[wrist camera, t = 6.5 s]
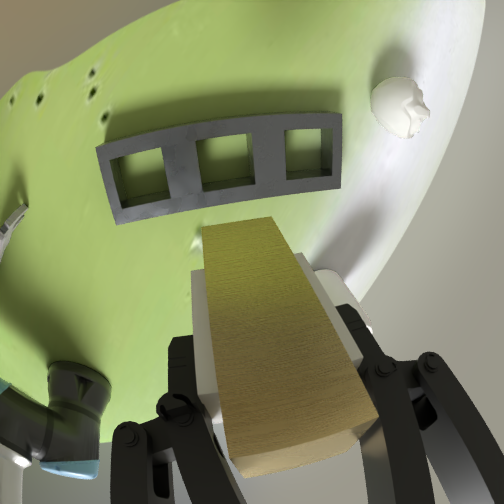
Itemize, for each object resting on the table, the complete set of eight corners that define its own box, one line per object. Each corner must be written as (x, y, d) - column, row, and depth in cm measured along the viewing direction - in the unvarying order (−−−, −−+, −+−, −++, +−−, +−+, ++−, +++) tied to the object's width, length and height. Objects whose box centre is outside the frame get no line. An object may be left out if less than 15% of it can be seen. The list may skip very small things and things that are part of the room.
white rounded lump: (399, 135, 31) (438, 148, 25) (356, 128, 30) (394, 140, 23) (403, 82, 27) (444, 86, 21) (359, 69, 26) (399, 68, 19)
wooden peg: (273, 272, 18) (346, 451, 8) (211, 282, 17) (244, 478, 7) (271, 216, 16) (379, 416, 6) (201, 226, 15) (229, 458, 5)
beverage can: (342, 263, 41) (382, 315, 31) (334, 301, 45) (366, 353, 35) (294, 271, 40) (327, 330, 30) (291, 310, 44) (316, 368, 34)
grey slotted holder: (329, 180, 33) (340, 188, 31) (121, 214, 30) (116, 225, 27) (329, 111, 28) (341, 113, 26) (104, 142, 25) (95, 147, 22)
